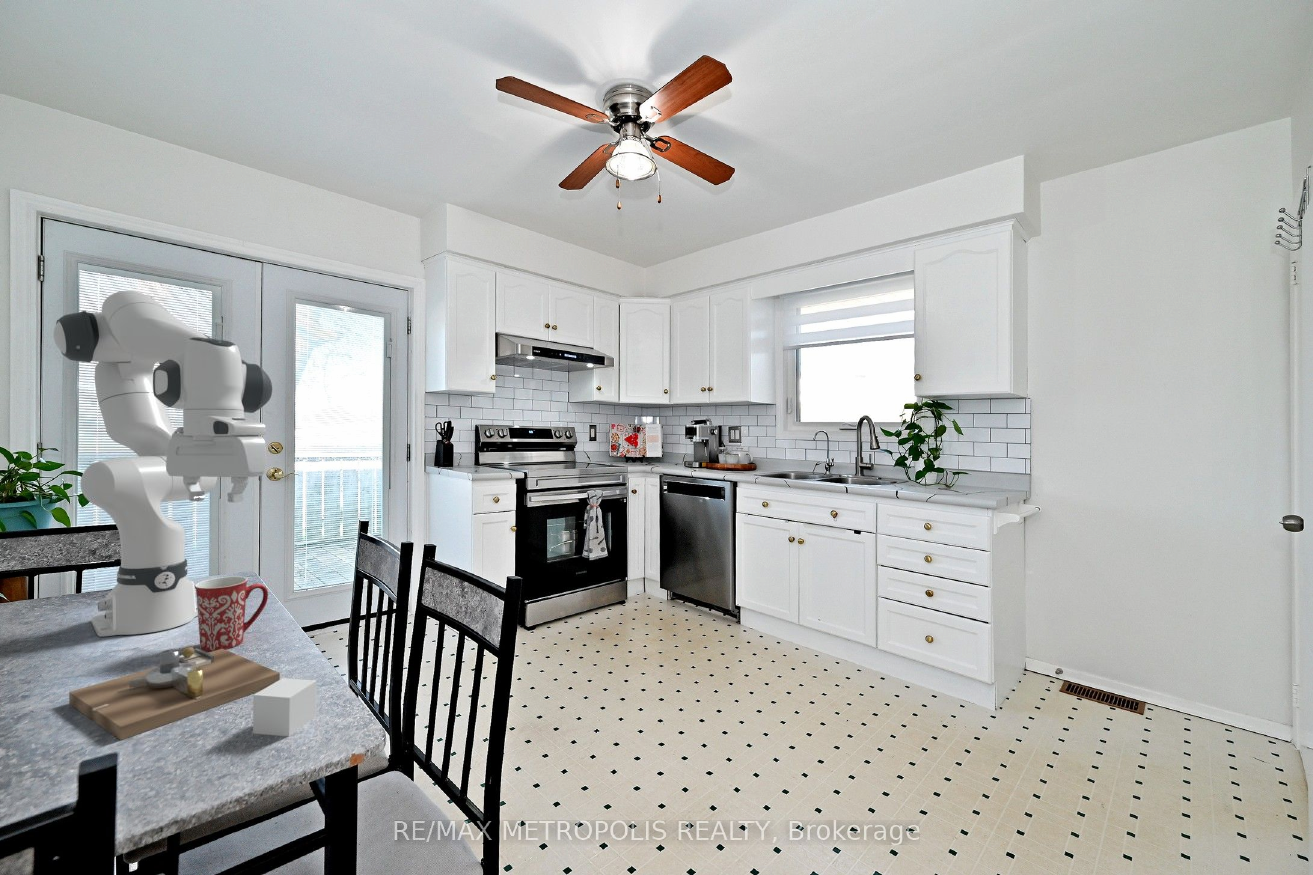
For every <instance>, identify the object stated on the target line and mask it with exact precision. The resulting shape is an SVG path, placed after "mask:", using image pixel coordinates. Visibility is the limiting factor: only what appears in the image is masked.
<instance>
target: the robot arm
mask: <svg viewBox="0 0 1313 875" xmlns="http://www.w3.org/2000/svg"><path fill="white" fill-rule="evenodd" d="M101 305H102V306H101V312H98V311H97V312H96V311H95V312H89V311H88V312H87V311H86V310H82V311H79V312H72V313H69V314H64V315H62V316H61V317H60V318H58V319H57V320H56V322H55V326H54V328H53V329H54V330H53V339H54V343H55V345H56V346H57V348H58V349H59V351H60V352H61V354H62V356H64V357H65V358H67V359H68V360H70V361H74V362H80V363H91V362H97V364H96V365H95V368H94V385H95V392H96V398H97V402H98V406H99V409H100V412H101V416H102V420H103V422H104V426H105V427H104V428H105V429H106V433H107V435H108V436H109V438H110V439H111V440H112V441H114V442H115V443H117V444H119V445H121V446H125V447H126V448H128V449H130V450H131V451H132V452H134V453H135V454H136V455H137V456H118V457H114V458H109V459H105V460H104V459H103V460H99V461H95V462H93V463H91V464H90V465H88V467H86V468H85V470H84V472H83V474H82V475H81V478H80V491H81V494H83V496H84V498H85V499H86V500H87V501H88V502H90V504H93V505H94V506H96V507H98V508H100V509H102V511H104V512H106V514H108V515H109V516H110V518H111V519H112V521H113V522H114V524H115V525H116V527H117V530H118V534H119V540H120V563H121V564H120V566H119V567H118V570H117V572H116V576H117V577H116V585H114V586H113V588H112V589H111V590H110V591H109V592H108V594H106V595H105V600H99V601H98V602H97V611H98V612H104V613H101V614H98V615H95V616H93V617H91V622H90V623H91V624H92V627H93V628H94V631H95V633H96V635H97V636H98V637H99V638H100V637H102V638H103V637H110V636H123V635H126V636H127V635H141V634H148V633H155V632H160V631H165V630H170V629H173V628H177V627H179V626H182V625H185V624H188V623H190V622H191V621H192V620H194V619H195V618H196V617H198V610H197V603H196V589H195V583H194V581H192V580H191V579H190V578H188V577H187V575H188V569H189V565H188V560H187V559H186V530H185V528H184V527H183V525H182V524H181V523H179V522H177V521H175V520H173V519H170V518H167V517H166V516H165V515H164V513H163V511H162V507H161V503H169V502H178V501H188V500H189V502H202V501H205V495H207V494H209V493H211V491H213V489H214V488H215V487H216V484H217V482H218V481H217V480H218V478H230V481H231V482H230V484H233V485H232V487H231V488H232V489H231V490H230V492H227V502H229V503H242V502H243V500H244V492H245V491H246V487H247V486H248V484H249V478H255V477H261V476H264V473H265V472H266V470H267V463H268V462H267V460H268V459H267V455H268V454H267V444H266V441H265V439H264V438H263V437H262V436H264V435H265V434H266V432H267V430H266V429H267V428H266V427H267V426H266V425H265V423H263V422H259V421H257V420H255V419H252V418H250V417H248V416H246V415H245V413H248V414H254V413H255V412H257V411H259V410H260V409H261V408H262V409H263V407H264V406H265V405H266V404H267V403H268V402H269V401H270V400H271V398H272V396H273V395H272V394H273V383H272V381H271V380H272V379H271V378H270V376H269V375H268V374H267V372H266V371H265V370H264V369H263V368H262V367H261V366H260V365H258V364H256V363H248V362H247V361H245V360H243V359H242V355H241V352H240V349H239V346H238V345H237V344H236V343H234V342H232V341H229V340H226V339H225V340H224V339H223V340H222V339H216V338H212V337H210V336H208V335H206V334H204V333H202V332H201V331H198V330H197V329H195V328H193V327H191V326H190V325H188V324H186V323H185V322H184V321H182V320H180V319H178V318H177V317H176V316H174V315H173V314H172V313H171V312H170V311H169V310H168V309H167V308H165V306H164V305H162V304H161V303H159V302H158V301H156V299H153V298H152V297H150V296H148V295H146V294H144V293H142V292H140V291H139V292H138V291H133V290H121V291H116V292H114V293H112V294H110V295H109V296H107V297H106V298H105V300H104V301H103V303H102V304H101ZM156 363H159V365H157V366H156V367H155V365H156ZM165 406H166V407H167V408H172V409H176V410H177V409H178V410H182V417H183V418H182V421H183V422H182V423H183V424H182V425H183V426H179V427H177V428H176V429H174V427H173V424H172V423H171V420H170V417H169V415H168V412H167V409H166V407H165Z"/></svg>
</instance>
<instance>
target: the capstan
mask: <svg viewBox="0 0 1313 875" xmlns="http://www.w3.org/2000/svg"><path fill="white" fill-rule="evenodd" d="M180 656H181V655H180V648H179V649H178V648H173V649H172V648H170V649H165V650H162V651H160V652H159V666H160V667H159V666H157V667H158V668H156V667H154V668H155V669H153V670H151V671H149V672H148V673H147V674H146V676H144V677H138V678H131V680H130V685H129V688H132V687H139V686H145V685H146V686H147V687H148V688H166V687H171V686H173V687H175V688H177V689H178V690H180V691H182V692H184V693H186V694H187V696H188V697H194V696H198V695H201V694H202V693H203V669H195V668H196V662H189V663H179V658H180ZM193 669H194V670H193Z"/></svg>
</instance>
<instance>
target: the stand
mask: <svg viewBox="0 0 1313 875" xmlns="http://www.w3.org/2000/svg"><path fill="white" fill-rule="evenodd" d="M189 662H196V668H195V669H203V693H202V694H201V695H198V696H194V697H188V696H187V694H186V693H184V692H182V691H180V690H178V689H177V688H175V687H173V686H171V687H166V688H148V687H147V686H146V685H145V686H139V687H132V688H129V685H130V680H131V678H138V677H144V676H146V674H147V673H148V672H149V671H151V670H153V669H155V668H158V667H160V665H159V666H156V667H153V668H149V669H145V670H142V671H138V672H135V673H131V674H127V675H124V676H121V677H117V678H114V679H110V680H107V681H103V682H99V683H96V684H93V685H89V686H85V687H82V688H79V689H74V690H70V691H69V693H68V696H69V697H68V700H69V701H68V705H70V706H71V707H73V709H76V710H77V711H79V712H80V713H81V714H83V715H84V716H86V717H87V718H89V719H90V720H91V721H92V722H94V723H96V725H99V726H100V727H101V728H103V729H104V730H105V731H107V732H108V733H110V734H111V735H112V736H113V737H115V736H116V737H115V738H117V739H118V740H119V739H120V741H123V740H126V739H128V738H131V737H134V736H137V735H140V734H143V733H145V732H149V731H151V730H154V729H157V728H159V727H163V726H165V725H167V724H171V723H173V722H177V721H179V720H182V719H185V718H187V717H191V716H193V715H194V716H195V715H196V714H200V713H201V712H205V711H207V710H210V709H213V708H216V707H219V706H221V705H224V704H227V703H230V702H232V701H233V702H234V701H235V700H238V699H242V698H243V697H247V696H250V695H252V694H253V695H254V694H256V693H258V692H260V691H261V690H263V689H265V688H267V687H268V686H270V685H272V684H274V683H275V682H277V681H279V680H281V675H280V674H281V673H280V672H278V671H276V670H274V669H271V668H269V667H267V666H264V665H262V664H260V663H258V662H255V661H253V660H250V659H247V658H245V657H243V656H241V655H239V654H236V653H233V652H231V651H229V650H228V649H220V650H216V651H203V650H201V648H194V647H190V646H188V647H185V648H184V649H183V650H182V651H181V655H180V658H179V663H189ZM193 670H194V669H193Z"/></svg>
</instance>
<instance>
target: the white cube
mask: <svg viewBox="0 0 1313 875" xmlns="http://www.w3.org/2000/svg"><path fill="white" fill-rule="evenodd" d="M252 700H253V705H252V706H253V708H252V714H253V715H252V716H253V717H252V734H255V735H256V734H257V735H268V736H280V737H291V735H293V734H295V733H296V732H297V731H299V730H301V728H303V727H305V726H306V725H307V724H308V723H310V722H311V721H313V720H314V719H315V718H317V715H318V713H317V712H318V711H317V710H318V680H314V679H301V678H288V677H287V678H285V677H284V678H283V677H282V678H280V680H279V681H277V682H275V683H274V684H272V685H270V686H268V687H267V688H265V689H263V690H261V691H258V692H255V693H253V698H252Z"/></svg>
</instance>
